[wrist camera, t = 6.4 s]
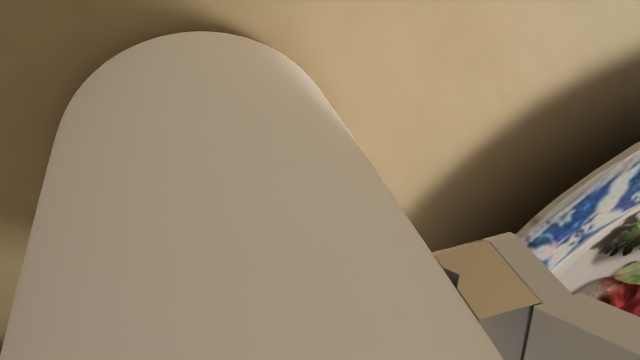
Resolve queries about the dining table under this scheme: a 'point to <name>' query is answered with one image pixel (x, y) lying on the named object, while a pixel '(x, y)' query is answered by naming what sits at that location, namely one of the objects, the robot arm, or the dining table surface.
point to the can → (223, 224)
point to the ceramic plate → (595, 234)
